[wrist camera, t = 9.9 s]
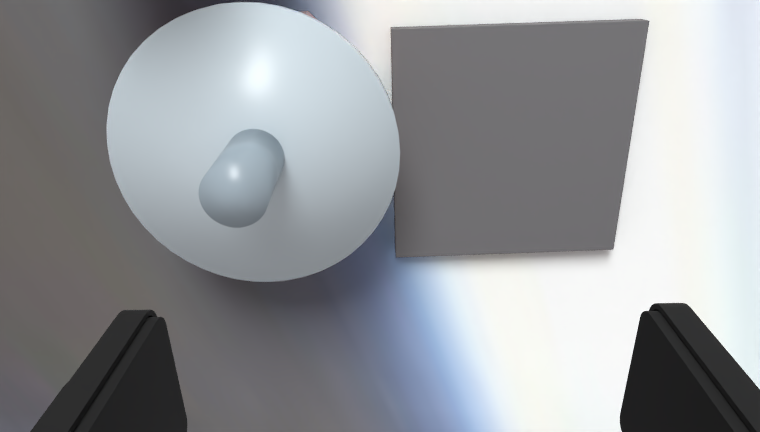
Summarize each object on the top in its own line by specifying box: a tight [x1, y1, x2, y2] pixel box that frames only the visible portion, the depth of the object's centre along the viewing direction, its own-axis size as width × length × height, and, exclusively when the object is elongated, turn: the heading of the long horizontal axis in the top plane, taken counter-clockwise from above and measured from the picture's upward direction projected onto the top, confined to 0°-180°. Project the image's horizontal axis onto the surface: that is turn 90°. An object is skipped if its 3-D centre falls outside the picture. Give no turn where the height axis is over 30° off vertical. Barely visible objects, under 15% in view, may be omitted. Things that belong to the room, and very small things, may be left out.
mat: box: [391, 19, 649, 257], centre depth 34 cm, size 14×14×1 cm
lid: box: [107, 2, 400, 282], centre depth 26 cm, size 14×14×6 cm
